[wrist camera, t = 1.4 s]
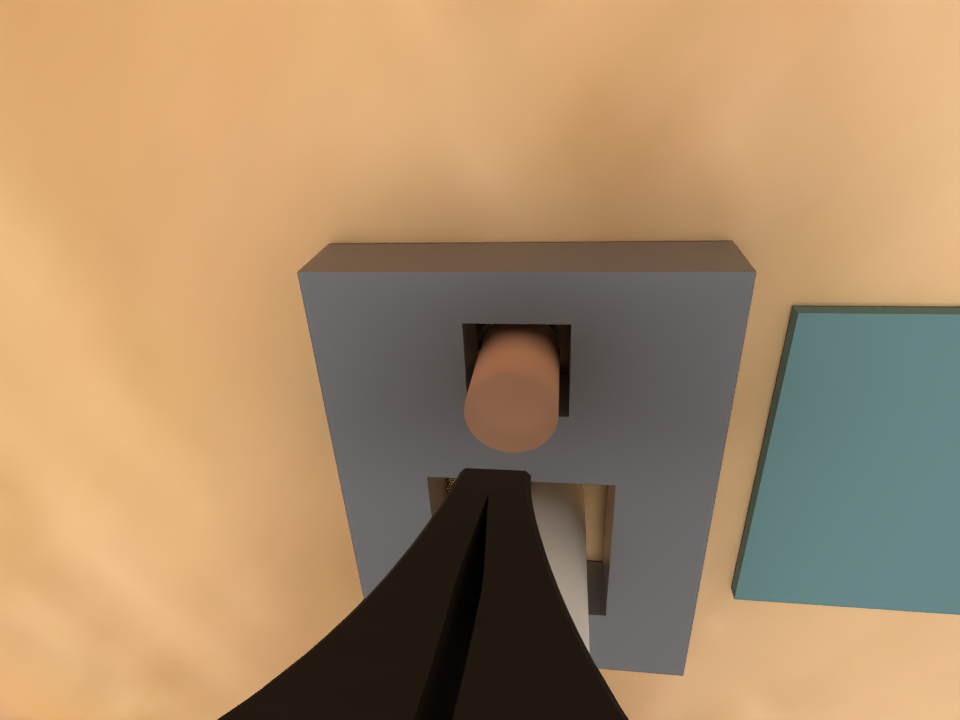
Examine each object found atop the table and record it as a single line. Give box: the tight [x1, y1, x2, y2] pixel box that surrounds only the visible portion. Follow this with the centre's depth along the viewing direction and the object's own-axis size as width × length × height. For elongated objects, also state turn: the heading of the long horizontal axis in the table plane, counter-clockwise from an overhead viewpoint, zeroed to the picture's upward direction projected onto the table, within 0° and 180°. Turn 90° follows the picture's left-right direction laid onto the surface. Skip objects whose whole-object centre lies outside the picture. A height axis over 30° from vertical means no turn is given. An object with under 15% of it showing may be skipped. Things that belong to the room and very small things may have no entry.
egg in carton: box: [464, 324, 560, 453], centre depth 17 cm, size 2×2×4 cm
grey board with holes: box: [297, 241, 756, 676], centre depth 21 cm, size 16×12×2 cm
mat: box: [731, 306, 960, 615], centre depth 20 cm, size 12×8×1 cm, turn 3°
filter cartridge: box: [531, 482, 590, 653], centre depth 19 cm, size 4×4×8 cm
